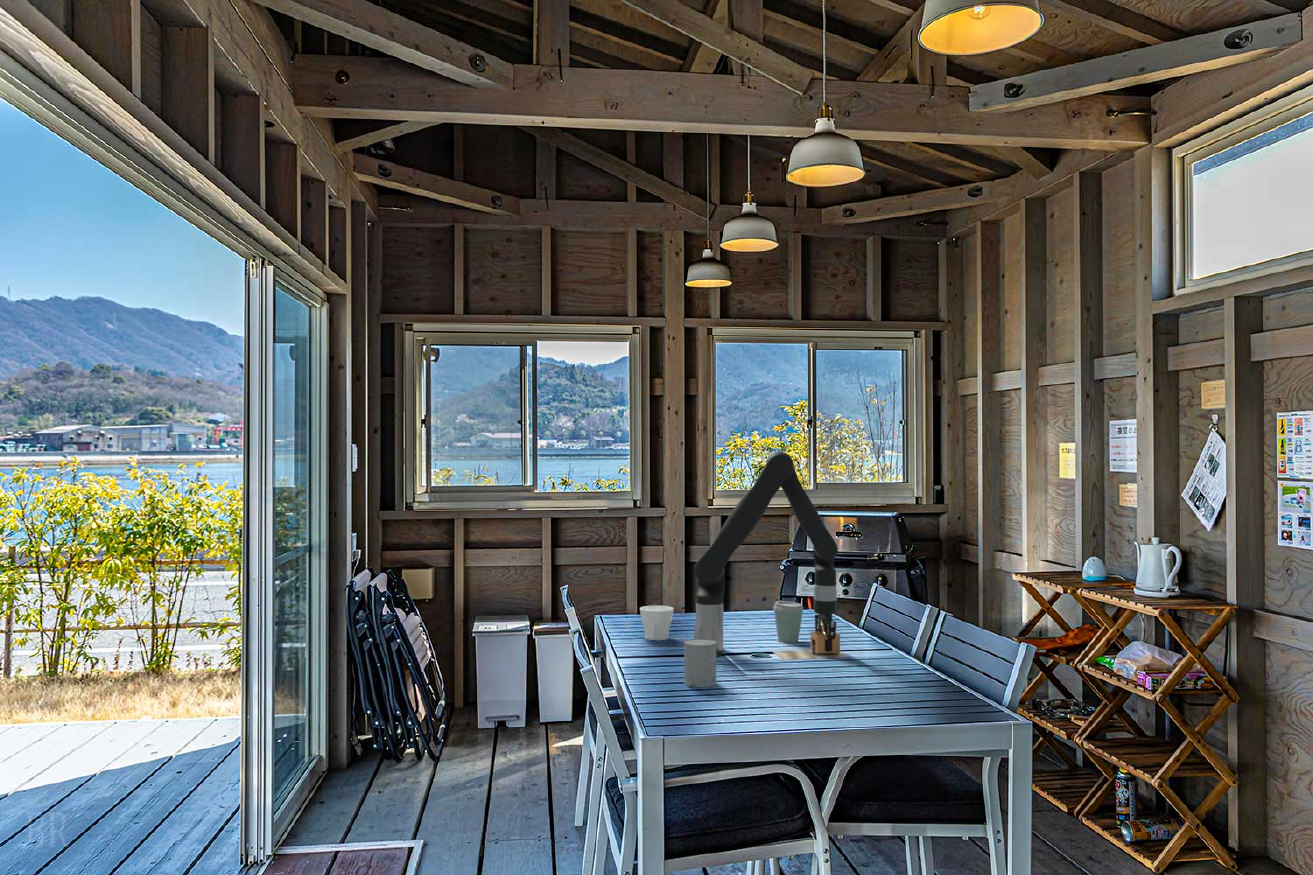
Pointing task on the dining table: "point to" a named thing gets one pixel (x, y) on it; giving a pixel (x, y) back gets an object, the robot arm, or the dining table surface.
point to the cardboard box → (819, 642)
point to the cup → (656, 621)
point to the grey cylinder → (700, 662)
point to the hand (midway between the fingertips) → (825, 648)
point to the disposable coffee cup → (788, 620)
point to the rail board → (806, 654)
